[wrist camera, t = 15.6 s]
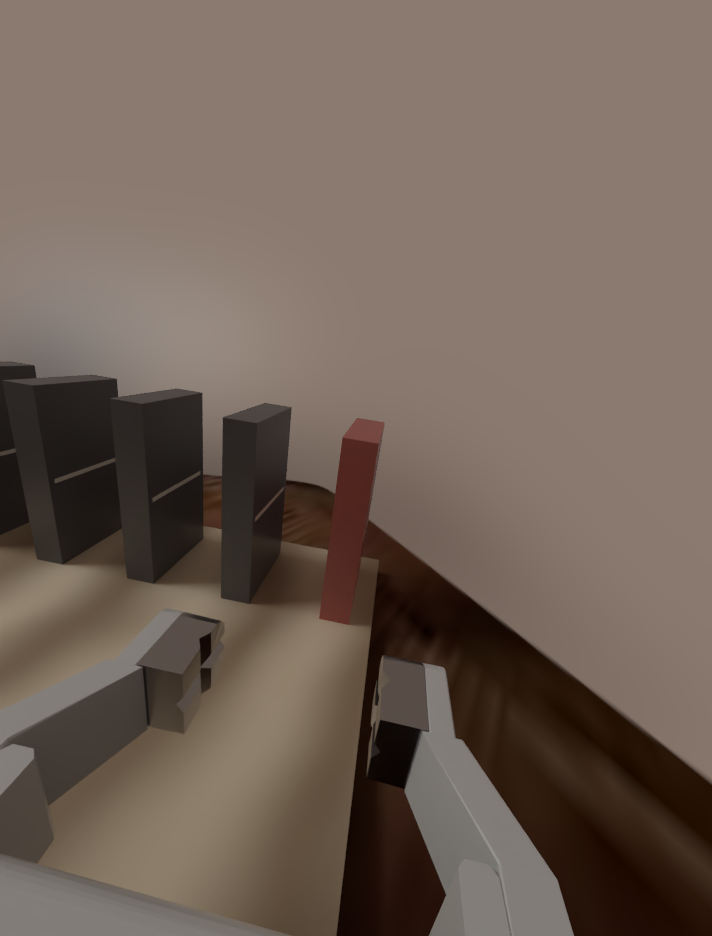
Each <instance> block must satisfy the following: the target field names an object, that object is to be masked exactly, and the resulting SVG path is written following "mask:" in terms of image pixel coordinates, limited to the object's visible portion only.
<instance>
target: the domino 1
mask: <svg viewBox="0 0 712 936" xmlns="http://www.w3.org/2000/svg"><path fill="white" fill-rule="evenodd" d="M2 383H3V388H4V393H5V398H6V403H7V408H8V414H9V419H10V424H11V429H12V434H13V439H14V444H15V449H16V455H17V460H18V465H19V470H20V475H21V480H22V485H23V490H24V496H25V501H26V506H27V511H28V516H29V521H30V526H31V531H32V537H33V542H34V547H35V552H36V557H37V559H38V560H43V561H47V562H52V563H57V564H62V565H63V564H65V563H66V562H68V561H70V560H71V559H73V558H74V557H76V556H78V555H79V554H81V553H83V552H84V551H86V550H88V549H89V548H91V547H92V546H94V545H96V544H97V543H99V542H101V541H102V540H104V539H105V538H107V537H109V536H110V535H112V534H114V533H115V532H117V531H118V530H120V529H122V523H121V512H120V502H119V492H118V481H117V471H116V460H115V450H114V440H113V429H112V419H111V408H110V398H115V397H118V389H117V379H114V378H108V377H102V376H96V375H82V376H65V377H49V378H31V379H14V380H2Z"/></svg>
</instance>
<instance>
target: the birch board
mask: <svg viewBox="0 0 712 936" xmlns="http://www.w3.org/2000/svg"><path fill="white" fill-rule="evenodd" d="M221 543H222V530H221V529H216V528H211V527H206V526H203V539H202V540H201V541H200V542H199V543H198V544H197V545H196V546H195V547H194V548H192V549H191V550H190V551H189V552H188V553H187V554H186V555H185V556H184V557H183V558H182V559H180V560H179V561H178V562H177V563H176V564H175V565H174V566H173V567H172V568H171V569H170V570H168V571H167V572H166V573H165V574H164V575H163V576H162V577H161V578H160V579H159V580H158V581H156V582H155V583H154V584H152V583H147V582H142V581H137V580H133V579H128V578H127V575H126V564H125V554H124V543H123V533H122V529H120V530H118V531H117V532H115V533H114V534H112V535H110V536H109V537H107V538H105V539H104V540H102V541H101V542H99V543H97V544H96V545H94V546H92V547H91V548H89V549H88V550H86V551H84V552H83V553H81V554H79V555H78V556H76V557H74V558H73V559H71V560H70V561H68V562H66V563H65V564H63V565H62V564H57V563H52V562H47V561H43V560H38V559H37V557H36V552H35V547H34V542H33V537H32V531H31V526H30V522H29V523H27V524H25V525H22V526H20V527H18V528H16V529H13V530H11V531H9V532H7V533H4V534H2V535H0V710H2V709H4V708H6V707H8V706H10V705H13V704H15V703H17V702H19V701H21V700H23V699H25V698H27V697H29V696H31V695H34V694H36V693H38V692H40V691H42V690H44V689H46V688H48V687H50V686H52V685H54V684H57V683H59V682H61V681H63V680H65V679H67V678H69V677H71V676H73V675H75V674H78V673H80V672H82V671H84V670H86V669H88V668H90V667H92V666H94V665H96V664H99V663H101V662H103V661H105V660H107V659H111V660H115V659H116V658H117V657H118V655H119V654H120V653H121V652H122V651H123V650H124V649H125V648H126V647H127V646H128V645H129V644H130V643H131V642H132V641H133V640H134V639H135V638H136V637H137V635H138V634H139V633H140V632H141V631H142V630H143V629H144V628H145V627H146V626H147V625H148V624H149V623H150V622H151V621H152V620H153V619H154V618H155V617H156V615H157V614H158V613H159V612H161V611H162V610H164V609H166V608H169V609H173V610H177V611H182V612H187V613H191V614H195V615H199V616H203V617H208V618H212V619H216V620H220V621H222V622H224V630H225V633H224V635H223V636H222V638H221V639H220V641H221V642H222V644H223V645H224V657H223V662H222V665H221V668H220V671H219V673H218V676H217V678H216V680H215V682H214V683H213V685H212V687H211V688H210V689H208V690H207V691H205V692H204V693H202V694H201V706H200V708H199V710H198V711H197V713H196V715H195V717H194V718H193V720H192V722H191V723H190V725H189V727H188V729H187V730H186V732H185V734H181V733H176V732H171V731H166V730H162V729H157V728H152V727H148V729H147V730H146V731H145V732H144V733H142V734H141V735H140V736H139V737H137V738H136V739H135V740H133V741H132V742H131V743H129V744H128V745H127V746H126V747H124V748H123V749H122V750H120V751H119V752H118V753H117V754H115V755H114V756H113V757H111V758H110V759H109V760H107V761H106V762H105V763H104V764H102V765H101V766H100V767H98V768H97V769H96V770H95V771H93V772H92V773H91V774H89V775H88V776H87V777H85V778H84V779H83V780H82V781H80V782H79V783H78V784H76V785H75V786H74V787H72V788H71V789H70V790H69V791H67V792H66V793H65V794H63V795H62V796H61V797H60V798H58V799H57V800H56V801H54V802H53V803H52V804H50V805H49V809H50V813H51V817H52V821H53V825H54V829H55V833H54V840H53V842H52V843H51V845H50V846H49V847H48V849H47V850H46V852H45V853H44V855H43V856H42V857H41V859H40V860H39V862H38V863H37V864H40V865H43V866H47V867H51V868H54V869H58V870H61V871H65V872H68V873H72V874H75V875H79V876H82V877H86V878H90V879H93V880H97V881H100V882H104V883H107V884H111V885H114V886H118V887H122V888H125V889H129V890H132V891H136V892H139V893H143V894H146V895H150V896H153V897H157V898H161V899H164V900H168V901H171V902H175V903H178V904H182V905H185V906H189V907H192V908H196V909H200V910H203V911H207V912H210V913H214V914H217V915H221V916H224V917H228V918H231V919H235V920H239V921H242V922H246V923H249V924H253V925H256V926H260V927H263V928H267V929H271V930H274V931H278V932H281V933H285V934H288V935H292V936H336V934H337V925H338V917H339V908H340V899H341V890H342V881H343V873H344V864H345V855H346V846H347V837H348V829H349V820H350V811H351V802H352V793H353V785H354V776H355V767H356V758H357V749H358V741H359V732H360V723H361V714H362V705H363V697H364V688H365V679H366V670H367V662H368V653H369V644H370V635H371V626H372V618H373V609H374V600H375V591H376V582H377V574H378V565H379V560H375V559H370V558H365V557H362V559H361V565H360V571H359V576H358V581H357V586H356V591H355V596H354V601H353V605H352V610H351V615H350V620H349V625H346V624H341V623H337V622H332V621H327V620H323V619H319V616H320V608H321V600H322V593H323V585H324V577H325V570H326V562H327V554H328V550H324V549H319V548H314V547H309V546H303V545H298V544H293V543H288V542H283V541H281V550H280V555H279V556H278V558H277V560H276V561H275V563H274V564H273V566H272V568H271V569H270V571H269V573H268V574H267V576H266V577H265V579H264V581H263V582H262V584H261V586H260V587H259V589H258V590H257V592H256V594H255V595H254V597H253V598H252V600H251V602H250V603H249V604H246V603H242V602H237V601H232V600H227V599H223V598H221Z"/></svg>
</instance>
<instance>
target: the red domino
mask: <svg viewBox="0 0 712 936" xmlns="http://www.w3.org/2000/svg"><path fill="white" fill-rule="evenodd" d="M383 429H384V422H378V421H372V420H366V419H360V418H357V419H356V420H355V422H354V423H353V424H352V426H351V427H350V428H349V430H348V431H347V432H346V434H345V435H344V437H343V439H342V448H341V454H340V463H339V470H338V478H337V485H336V493H335V501H334V508H333V516H332V524H331V531H330V539H329V547H328V554H327V562H326V570H325V577H324V585H323V593H322V600H321V608H320V616H319V619H323V620H327V621H332V622H337V623H341V624H346V625H349V620H350V615H351V610H352V605H353V601H354V596H355V591H356V586H357V581H358V576H359V571H360V565H361V559H362V553H363V547H364V541H365V535H366V529H367V524H368V518H369V512H370V505H371V500H372V493H373V488H374V482H375V476H376V470H377V464H378V458H379V452H380V446H381V441H382V435H383Z"/></svg>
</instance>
